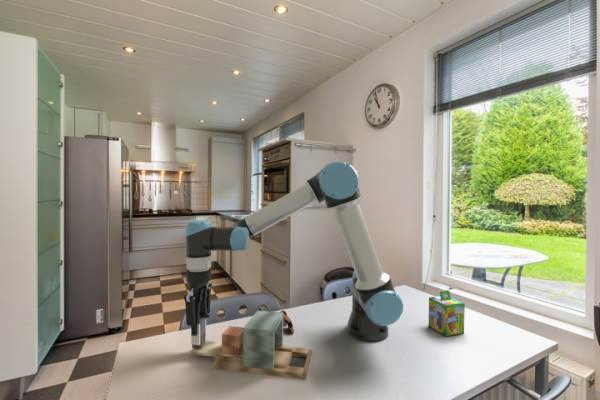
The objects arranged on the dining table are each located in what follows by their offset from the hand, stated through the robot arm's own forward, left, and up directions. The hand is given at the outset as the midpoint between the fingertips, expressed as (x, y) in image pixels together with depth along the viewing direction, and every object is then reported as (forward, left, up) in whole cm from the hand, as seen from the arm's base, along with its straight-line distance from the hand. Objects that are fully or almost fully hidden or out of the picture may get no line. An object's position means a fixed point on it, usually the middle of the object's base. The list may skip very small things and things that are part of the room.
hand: (198, 341), depth 91 cm
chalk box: (-85, -32, -4) cm, 91 cm away
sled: (-9, 0, -2) cm, 9 cm away
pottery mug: (-23, -19, -4) cm, 30 cm away
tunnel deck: (-22, 0, -4) cm, 22 cm away
